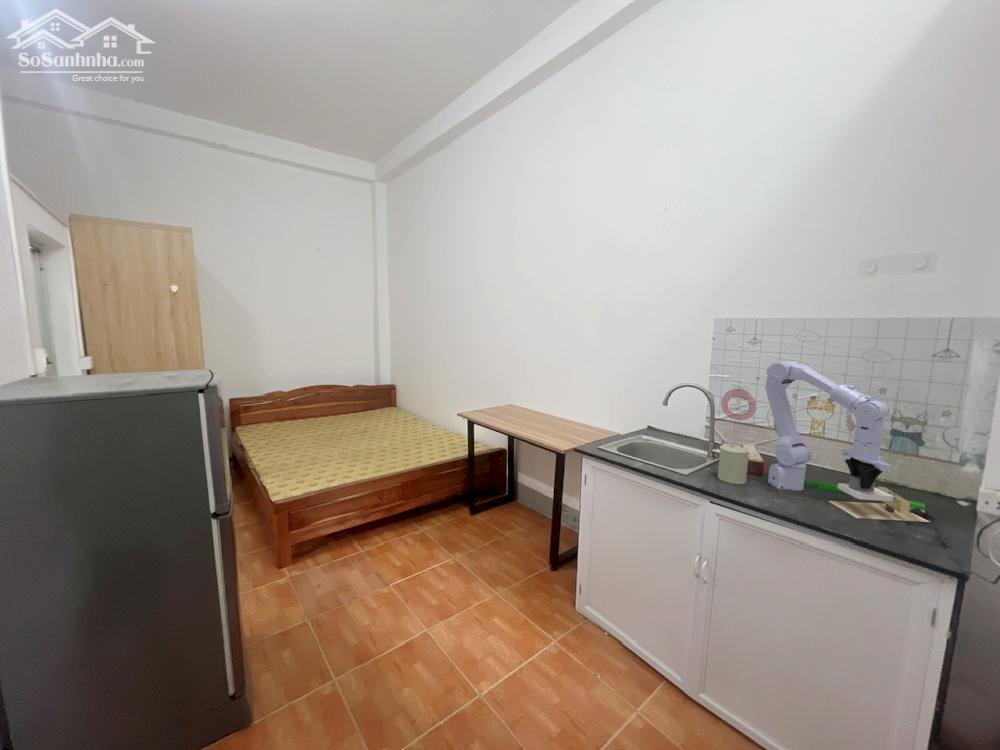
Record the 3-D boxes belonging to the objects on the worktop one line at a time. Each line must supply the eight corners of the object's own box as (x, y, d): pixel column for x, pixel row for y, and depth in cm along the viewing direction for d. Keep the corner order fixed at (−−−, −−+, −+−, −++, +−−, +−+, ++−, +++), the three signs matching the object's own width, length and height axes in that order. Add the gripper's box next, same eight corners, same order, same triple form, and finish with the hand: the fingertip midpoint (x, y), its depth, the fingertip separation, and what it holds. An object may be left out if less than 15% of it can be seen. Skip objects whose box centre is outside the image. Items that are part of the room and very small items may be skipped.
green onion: (920, 511, 119) (797, 484, 136) (922, 501, 119) (799, 475, 135) (925, 517, 115) (798, 489, 132) (927, 507, 115) (800, 480, 132)
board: (855, 522, 111) (857, 512, 110) (827, 505, 121) (828, 495, 121) (929, 526, 109) (931, 516, 108) (893, 508, 120) (895, 498, 119)
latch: (876, 496, 120) (877, 485, 119) (884, 497, 119) (885, 486, 119) (899, 512, 109) (901, 500, 109) (908, 513, 109) (910, 501, 108)
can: (741, 475, 145) (743, 444, 144) (750, 485, 137) (754, 452, 135) (714, 473, 147) (716, 442, 146) (721, 482, 139) (724, 450, 137)
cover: (858, 499, 112) (860, 482, 111) (837, 487, 120) (839, 472, 119) (892, 501, 111) (895, 484, 110) (869, 489, 119) (871, 473, 118)
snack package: (765, 477, 145) (767, 460, 144) (744, 474, 147) (746, 457, 147) (756, 460, 164) (757, 444, 163) (737, 457, 166) (739, 442, 166)
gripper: (905, 449, 106) (898, 497, 107) (861, 435, 120) (856, 477, 122) (877, 448, 106) (870, 496, 108) (836, 434, 121) (831, 476, 122)
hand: (861, 486), depth 115 cm, fingers closed on cover, 2 cm apart
